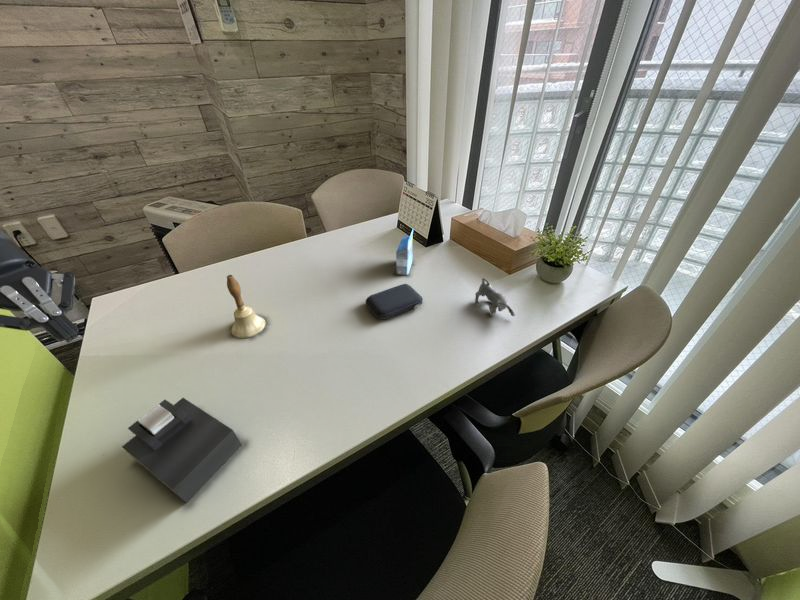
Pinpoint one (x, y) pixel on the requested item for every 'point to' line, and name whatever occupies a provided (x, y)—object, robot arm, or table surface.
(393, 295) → the carrying case
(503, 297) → the dog figurine
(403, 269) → the blue white carton
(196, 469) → the black square panel
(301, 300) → the table surface
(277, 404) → the table surface
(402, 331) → the table surface
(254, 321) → the hand bell
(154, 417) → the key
